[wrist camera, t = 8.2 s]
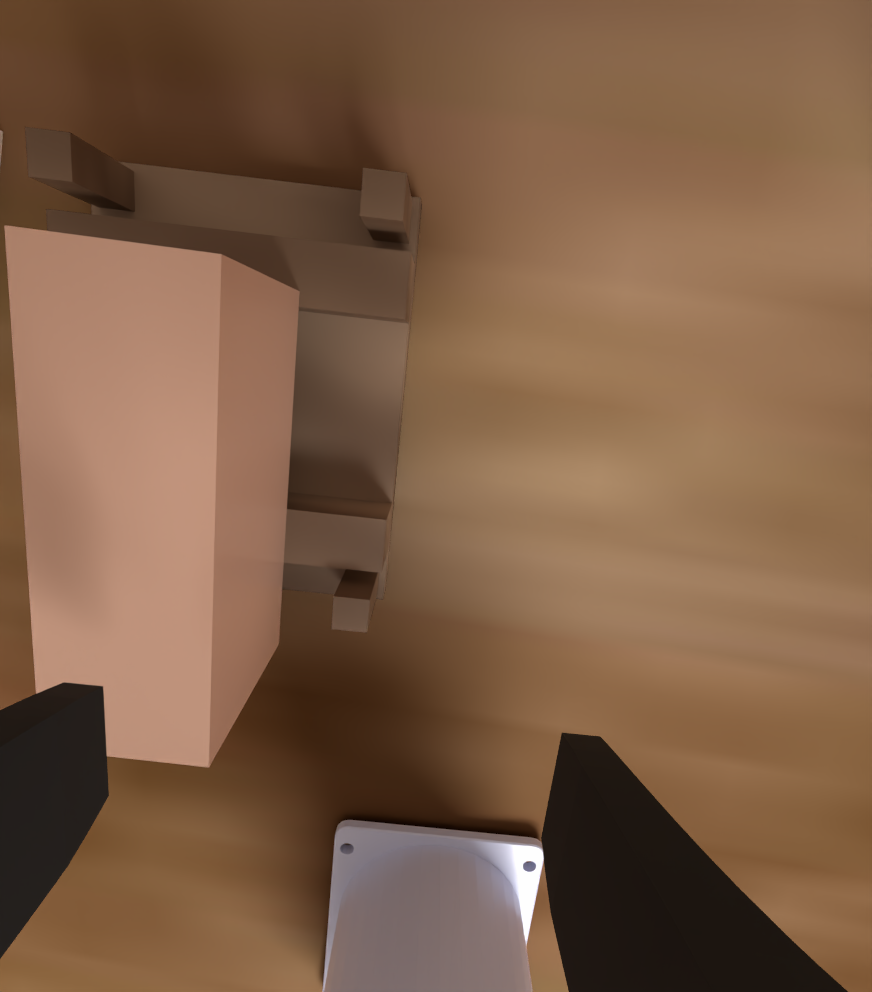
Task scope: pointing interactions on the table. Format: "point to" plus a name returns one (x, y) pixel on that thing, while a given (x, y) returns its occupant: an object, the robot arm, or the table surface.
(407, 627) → the table surface
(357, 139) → the table surface
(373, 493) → the rack
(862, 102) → the table surface
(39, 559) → the salmon pink block
